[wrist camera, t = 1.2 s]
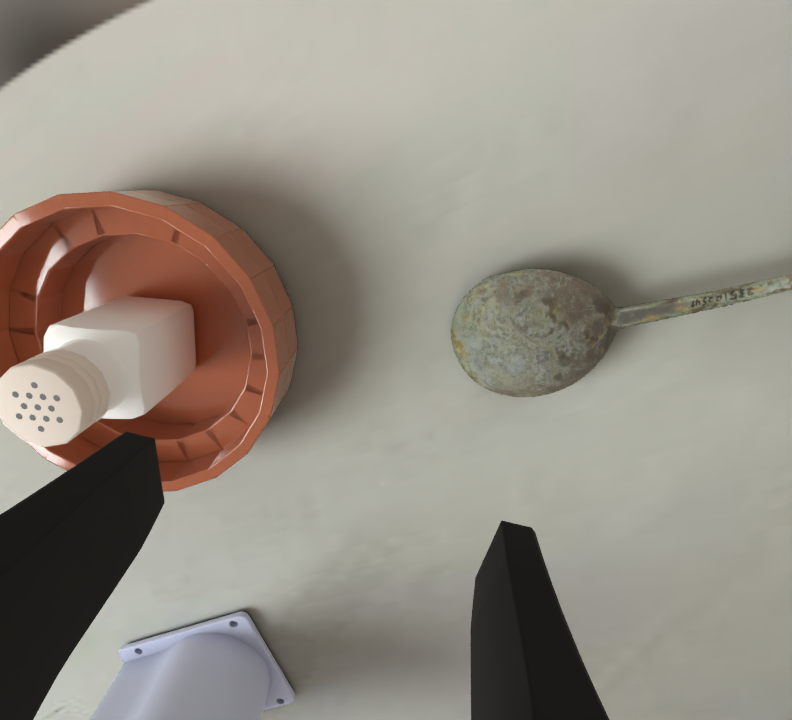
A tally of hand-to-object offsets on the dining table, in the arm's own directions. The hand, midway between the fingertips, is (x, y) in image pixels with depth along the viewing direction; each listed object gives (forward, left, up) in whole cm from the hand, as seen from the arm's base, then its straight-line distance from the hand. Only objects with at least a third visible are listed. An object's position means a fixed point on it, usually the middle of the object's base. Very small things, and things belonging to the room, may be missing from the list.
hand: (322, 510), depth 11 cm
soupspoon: (+14, -5, -17) cm, 23 cm away
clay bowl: (-11, +3, -17) cm, 21 cm away
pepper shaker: (-11, +3, -17) cm, 20 cm away
